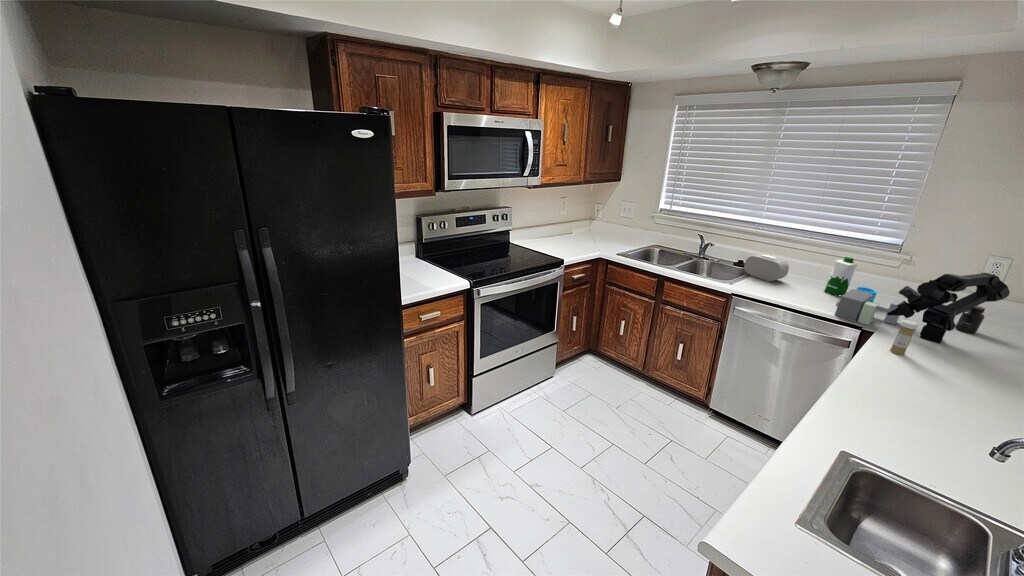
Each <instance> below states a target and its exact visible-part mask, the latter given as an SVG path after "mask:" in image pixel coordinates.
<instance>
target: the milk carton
mask: <svg viewBox="0 0 1024 576" xmlns="http://www.w3.org/2000/svg"><path fill="white" fill-rule="evenodd" d="M857 266H858V263H856V262H854V258H853V257H849V256H845V257H844V258H843V259H836V260H833V265H832V268H831V271H830V274H829V278H828V280H827V283H826V286H825V288H824V291H823V292H824V293H826V292H828V293H827V294H829V293H831V294H830V295H832V294H834V295H833V296H835V295H837V296H836V297H840V296H839V295H844V294H845V293H847V292H848V289H849V286H850V284H851V281H852V278H853V275H854V273H855V271H856V269H857Z"/></svg>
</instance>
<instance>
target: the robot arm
mask: <svg viewBox="0 0 1024 576" xmlns="http://www.w3.org/2000/svg"><path fill="white" fill-rule="evenodd" d="M970 287H976V290H975V291H974V292H972V293H971V294H970V293H969V294H968V295H965V296H964V297H961V298H960V299H958V298H959V297H958V294H957V293H958V292H962V291H965V290H966V289H967V288H970ZM916 289H917V290H915V289H913V288H912V287H910V286H909V285H906V286H904V287H903V288H901V289H900V290H898V294H899V295H902V296H903V297H904V298H906V299H907V300H903V301H901V302H899V303H900V304H898V305H897V307H898V308H896V309H894V310H892V311H890V312H888V313H886V314H888V315H898V316H900V317H901V316H904V318H905V319H908V318H911V317H913V316H914V315H915V313H920V312H922V311H923V314H922V323H925V324H924V325H923V326H922V329H921V331H920V333H919V335H920V336H919V338H921V339H924V340H927V341H930V342H934V343H937V344H941V343H942V341H943V339H944V337H945V334H946V332H951V331H954V329H956V328H955V326H956V323H955V319H956V316H958V315H960V314H962V313H963V312H965V311H967V310H969V309H971V308H973V307H975V306H979V305H981V304H984V303H987V302H995V303H996V302H998V301H1000V300H1004V299H1006V298H1007V297H1008V296H1009V295H1010V293H1011V291H1010V289H1009V287H1008V285H1007V284H1005V282H1003V281H1002V280H1001V279H1000V277H999V276H998V275H995V274H992V273H989V272H981V273H976V274H968V275H958V274H952V273H944V274H943V275H940V276H939V277H937V278H935V279H930V280H929V281H926V282H923V283H921V284H918V286H917V288H916ZM957 299H958V300H957ZM947 303H949V304H947ZM945 304H947V305H945Z"/></svg>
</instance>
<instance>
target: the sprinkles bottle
mask: <svg viewBox="0 0 1024 576" xmlns="http://www.w3.org/2000/svg"><path fill="white" fill-rule="evenodd" d="M918 326H919V325H918V323H917V322H915V321H913V320H908V319H907V320H906V319H905V320H904V319H903V320H902V321H901V323H900V327H899V329H898V331H897V333H896V336H895V337H894V340H893V342H892V345H891V347H890V349H889V351H890V352H891V353H893V354H895V355H899V356H904V355H906V351H907V349H908V347H909V345H910V343H911V341H912V338H913V336H914V333H915V330H917V328H918Z"/></svg>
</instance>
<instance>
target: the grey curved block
mask: <svg viewBox="0 0 1024 576" xmlns="http://www.w3.org/2000/svg"><path fill="white" fill-rule="evenodd" d="M856 289H857V288H856ZM856 289H855V288H852V289H850V290H849V291H848V290H847V292H846V293H845V294H844V295H842V296H840V299H839V300H838V301H839V304H838V307H837V306H836V310H835V312H834V316H835V317H839V318H840V319H845V320H847V321H851V322H854V323H855V322H856V321H858V318H859V316H860V314H861V313H859V311H860V308H863V306H864V304H865V303H866V302H870V300H871V298H872V295H873V294H871V293H867V292H863V291H860V290H856Z"/></svg>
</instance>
